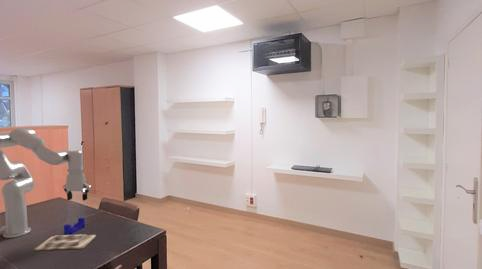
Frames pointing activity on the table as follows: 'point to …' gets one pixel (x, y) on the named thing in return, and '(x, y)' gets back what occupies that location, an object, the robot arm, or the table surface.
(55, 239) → the clip cradle
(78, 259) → the table surface
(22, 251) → the table surface
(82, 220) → the blue curved piece
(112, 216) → the table surface
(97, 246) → the table surface
